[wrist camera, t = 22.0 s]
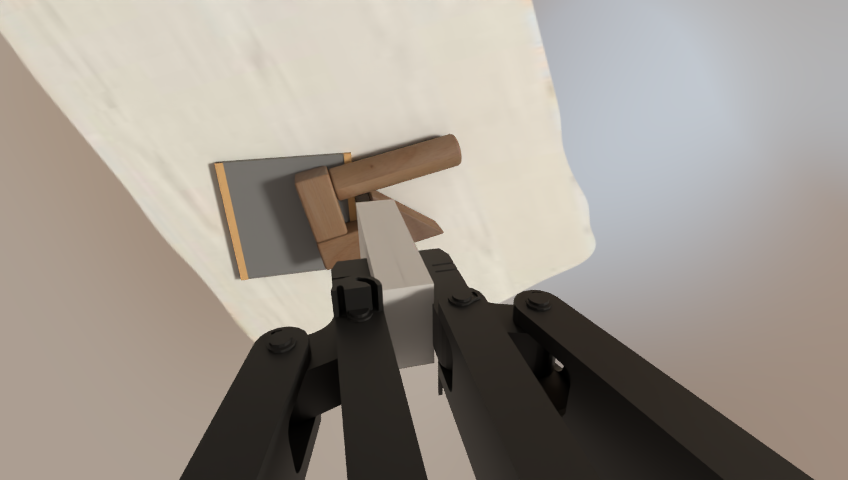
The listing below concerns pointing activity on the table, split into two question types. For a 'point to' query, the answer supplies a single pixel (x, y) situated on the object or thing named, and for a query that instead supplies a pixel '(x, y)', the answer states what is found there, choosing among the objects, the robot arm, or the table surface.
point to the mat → (273, 213)
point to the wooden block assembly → (367, 177)
